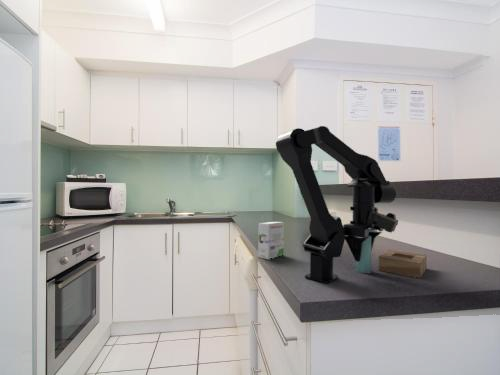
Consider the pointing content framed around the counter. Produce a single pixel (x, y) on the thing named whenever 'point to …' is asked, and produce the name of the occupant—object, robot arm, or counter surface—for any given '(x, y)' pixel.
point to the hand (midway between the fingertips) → (363, 258)
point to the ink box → (271, 240)
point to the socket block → (403, 263)
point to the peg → (365, 258)
